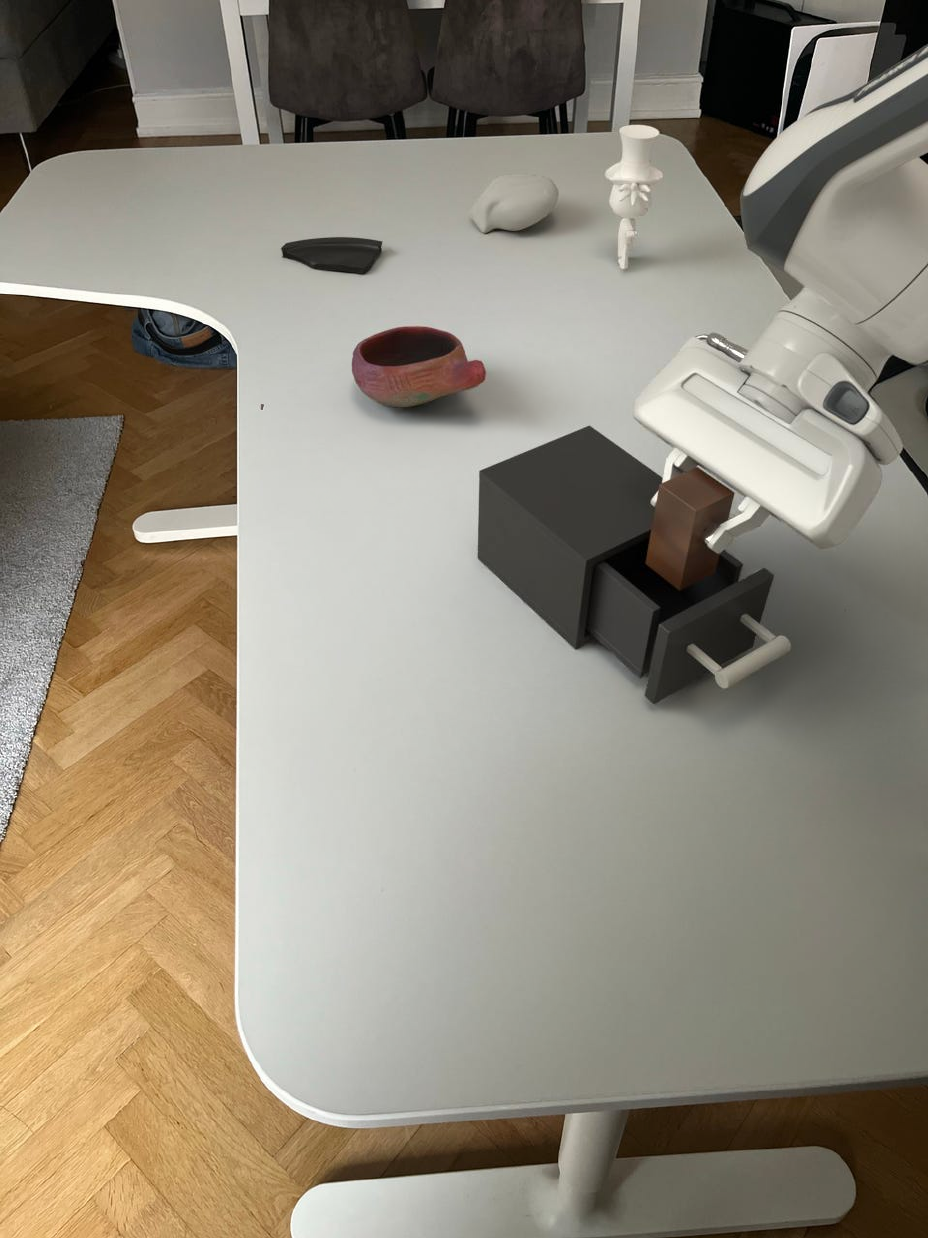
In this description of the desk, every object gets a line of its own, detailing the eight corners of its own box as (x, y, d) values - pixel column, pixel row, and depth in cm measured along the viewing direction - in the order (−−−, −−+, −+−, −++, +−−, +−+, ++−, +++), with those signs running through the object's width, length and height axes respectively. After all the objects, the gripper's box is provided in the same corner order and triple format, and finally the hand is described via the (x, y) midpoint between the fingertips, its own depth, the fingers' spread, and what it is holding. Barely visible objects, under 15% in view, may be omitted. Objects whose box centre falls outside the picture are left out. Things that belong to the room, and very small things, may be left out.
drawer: (794, 680, 83) (820, 608, 77) (694, 742, 78) (714, 670, 72) (646, 562, 94) (659, 490, 88) (550, 610, 89) (556, 538, 83)
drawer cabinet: (682, 593, 92) (701, 504, 85) (575, 649, 87) (586, 560, 80) (579, 511, 101) (589, 425, 93) (477, 558, 95) (479, 470, 88)
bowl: (341, 422, 112) (335, 358, 106) (367, 364, 121) (363, 303, 115) (482, 436, 110) (483, 372, 105) (498, 376, 119) (500, 315, 114)
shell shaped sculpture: (562, 210, 155) (565, 167, 150) (548, 244, 146) (551, 199, 141) (481, 202, 157) (481, 159, 152) (462, 234, 148) (462, 190, 143)
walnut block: (715, 572, 80) (735, 492, 74) (679, 591, 78) (696, 511, 73) (680, 545, 82) (697, 466, 77) (645, 563, 81) (659, 484, 75)
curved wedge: (297, 239, 146) (296, 229, 145) (385, 251, 144) (384, 240, 143) (275, 263, 141) (273, 252, 139) (365, 276, 138) (364, 264, 137)
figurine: (652, 283, 137) (672, 146, 124) (596, 281, 137) (611, 144, 125) (647, 250, 145) (665, 118, 132) (594, 248, 145) (608, 116, 132)
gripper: (685, 305, 78) (578, 450, 81) (902, 426, 66) (767, 591, 69) (715, 341, 83) (613, 476, 85) (922, 459, 71) (795, 612, 74)
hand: (683, 528), depth 77 cm, fingers closed on walnut block, 4 cm apart
